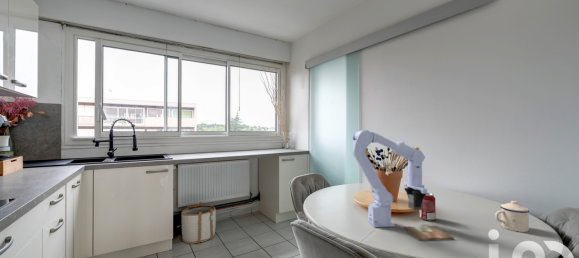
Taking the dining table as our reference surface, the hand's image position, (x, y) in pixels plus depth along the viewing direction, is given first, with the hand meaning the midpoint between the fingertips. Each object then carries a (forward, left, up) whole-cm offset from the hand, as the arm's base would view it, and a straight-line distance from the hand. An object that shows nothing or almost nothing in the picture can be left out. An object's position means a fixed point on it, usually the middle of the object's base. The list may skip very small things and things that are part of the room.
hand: (415, 205), depth 109 cm
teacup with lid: (+38, -8, -8) cm, 40 cm away
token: (0, 0, -1) cm, 1 cm away
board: (-1, -11, -8) cm, 14 cm away
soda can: (+9, +5, -8) cm, 13 cm away
